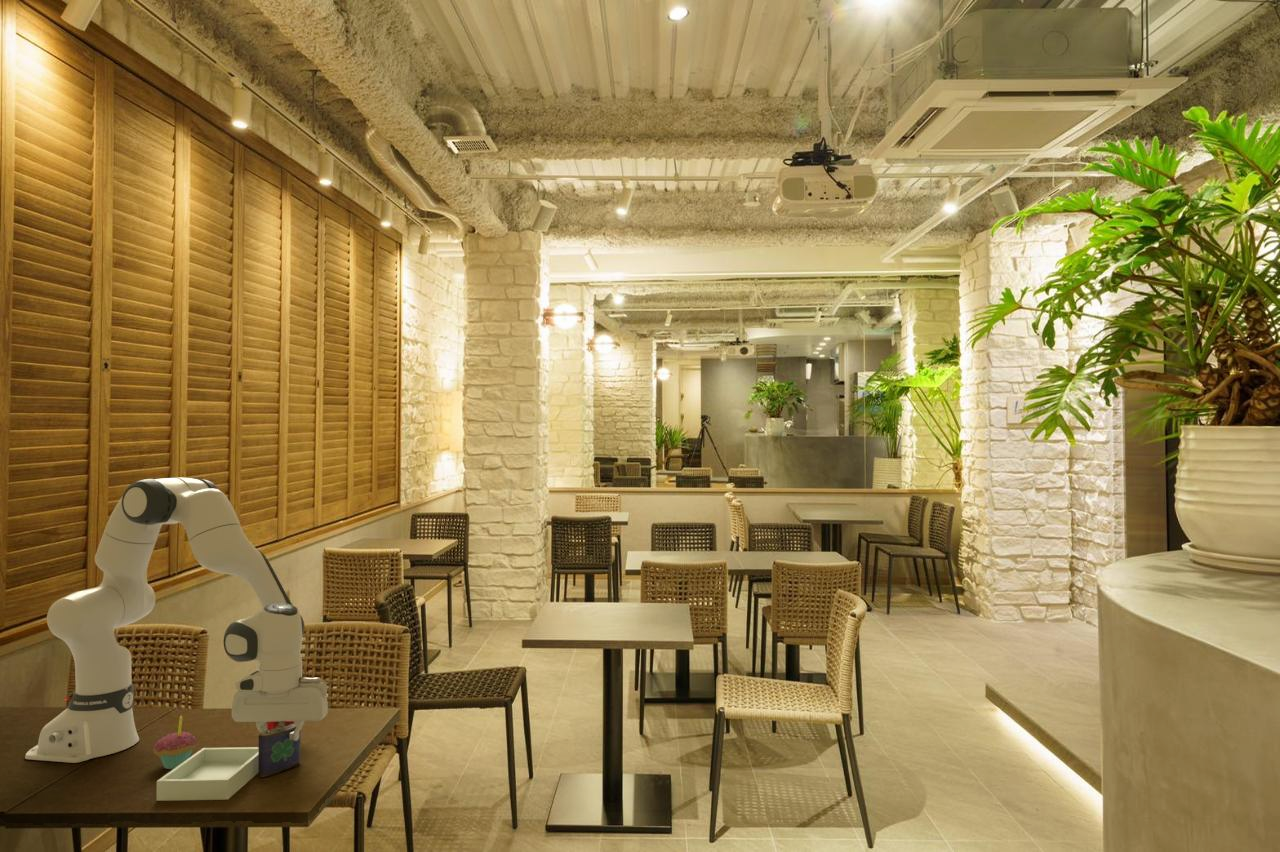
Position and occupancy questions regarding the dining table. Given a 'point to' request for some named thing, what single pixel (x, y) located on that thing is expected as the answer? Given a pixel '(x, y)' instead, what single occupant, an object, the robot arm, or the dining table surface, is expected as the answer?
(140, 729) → the dining table surface
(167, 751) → the cupcake
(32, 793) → the dining table surface
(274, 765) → the flask
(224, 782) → the serving bin
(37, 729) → the dining table surface
